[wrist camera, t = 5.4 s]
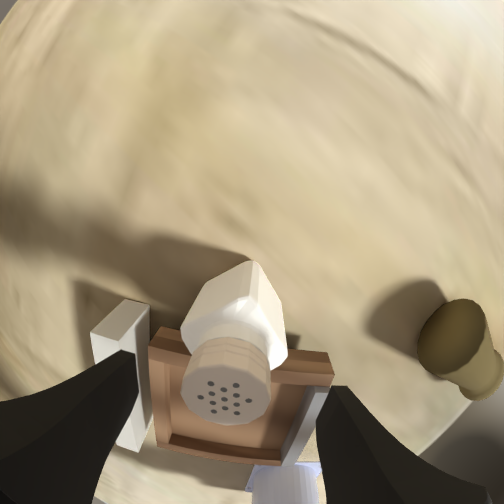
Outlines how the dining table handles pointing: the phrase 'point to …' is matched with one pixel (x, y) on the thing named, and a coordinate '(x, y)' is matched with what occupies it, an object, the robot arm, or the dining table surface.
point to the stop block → (136, 341)
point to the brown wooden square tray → (243, 435)
